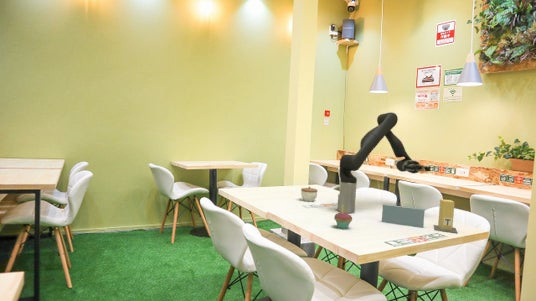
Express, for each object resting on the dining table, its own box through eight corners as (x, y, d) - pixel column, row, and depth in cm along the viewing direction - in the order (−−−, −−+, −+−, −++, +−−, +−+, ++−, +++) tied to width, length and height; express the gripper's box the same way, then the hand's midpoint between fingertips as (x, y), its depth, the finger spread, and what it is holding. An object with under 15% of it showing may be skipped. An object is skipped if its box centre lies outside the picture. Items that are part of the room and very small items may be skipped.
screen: (381, 221, 184) (382, 204, 183) (382, 221, 186) (383, 204, 185) (423, 227, 176) (424, 210, 175) (423, 226, 178) (424, 209, 177)
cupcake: (348, 230, 162) (349, 205, 162) (330, 227, 167) (332, 202, 166) (353, 227, 169) (355, 202, 169) (337, 224, 174) (338, 200, 173)
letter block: (438, 226, 178) (440, 199, 177) (448, 227, 177) (450, 200, 176) (441, 229, 172) (444, 201, 172) (452, 230, 172) (454, 202, 171)
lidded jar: (298, 201, 229) (299, 186, 229) (302, 198, 239) (303, 185, 239) (314, 203, 225) (315, 188, 225) (318, 200, 235) (319, 186, 235)
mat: (434, 230, 172) (434, 229, 172) (433, 225, 181) (433, 224, 181) (457, 233, 168) (457, 232, 168) (455, 228, 177) (455, 227, 177)
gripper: (400, 159, 211) (407, 161, 195) (424, 161, 209) (434, 163, 193) (399, 171, 212) (406, 174, 196) (423, 173, 210) (433, 176, 194)
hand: (420, 168), depth 194 cm, fingers open, 8 cm apart
